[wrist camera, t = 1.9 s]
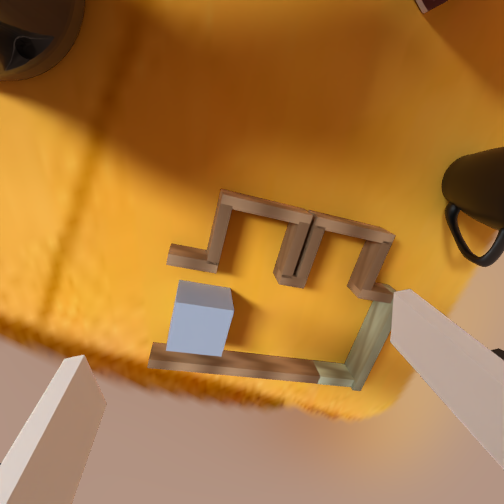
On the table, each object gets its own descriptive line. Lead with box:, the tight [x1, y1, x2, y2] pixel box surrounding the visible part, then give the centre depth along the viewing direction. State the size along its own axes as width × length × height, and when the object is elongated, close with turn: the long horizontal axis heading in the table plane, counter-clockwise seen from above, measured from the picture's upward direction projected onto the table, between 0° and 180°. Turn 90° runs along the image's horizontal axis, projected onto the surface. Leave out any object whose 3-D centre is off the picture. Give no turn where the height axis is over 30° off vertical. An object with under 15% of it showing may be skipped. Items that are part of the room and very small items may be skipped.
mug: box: [442, 147, 504, 267], centre depth 31 cm, size 8×12×10 cm
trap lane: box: [148, 189, 397, 391], centre depth 35 cm, size 28×21×4 cm
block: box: [166, 280, 234, 357], centre depth 33 cm, size 6×6×5 cm
